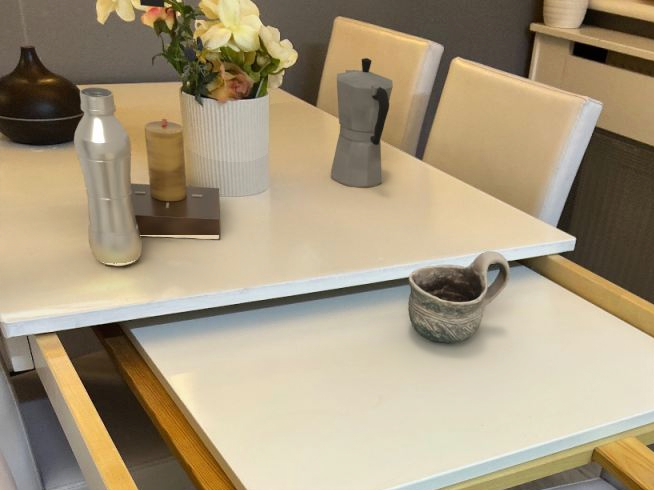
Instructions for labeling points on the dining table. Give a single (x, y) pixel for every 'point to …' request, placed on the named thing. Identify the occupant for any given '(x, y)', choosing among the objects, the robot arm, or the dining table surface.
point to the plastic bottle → (107, 179)
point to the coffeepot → (360, 126)
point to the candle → (166, 160)
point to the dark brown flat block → (177, 212)
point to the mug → (454, 297)
